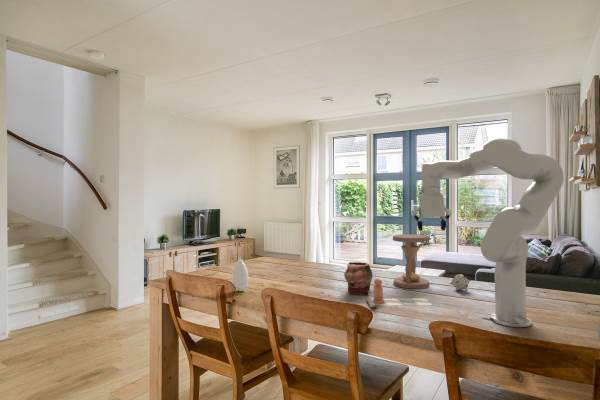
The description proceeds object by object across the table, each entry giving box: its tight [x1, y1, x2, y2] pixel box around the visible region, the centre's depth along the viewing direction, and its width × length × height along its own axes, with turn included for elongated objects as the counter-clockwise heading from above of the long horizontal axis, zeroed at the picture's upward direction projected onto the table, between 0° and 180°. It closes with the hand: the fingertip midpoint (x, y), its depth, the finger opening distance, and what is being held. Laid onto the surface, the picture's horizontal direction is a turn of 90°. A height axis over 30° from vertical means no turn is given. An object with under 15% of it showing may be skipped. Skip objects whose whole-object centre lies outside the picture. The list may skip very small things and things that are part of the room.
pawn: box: [372, 278, 385, 304], centre depth 150 cm, size 5×5×10 cm
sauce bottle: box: [231, 256, 250, 291], centre depth 176 cm, size 8×8×18 cm
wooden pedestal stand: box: [392, 233, 430, 290], centre depth 183 cm, size 18×18×25 cm
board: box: [366, 297, 433, 310], centre depth 150 cm, size 12×26×1 cm, turn 88°
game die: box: [449, 272, 472, 293], centre depth 170 cm, size 9×8×10 cm
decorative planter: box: [343, 261, 373, 296], centre depth 171 cm, size 20×12×14 cm, turn 148°
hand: (431, 230), depth 156 cm, fingers open, 9 cm apart
